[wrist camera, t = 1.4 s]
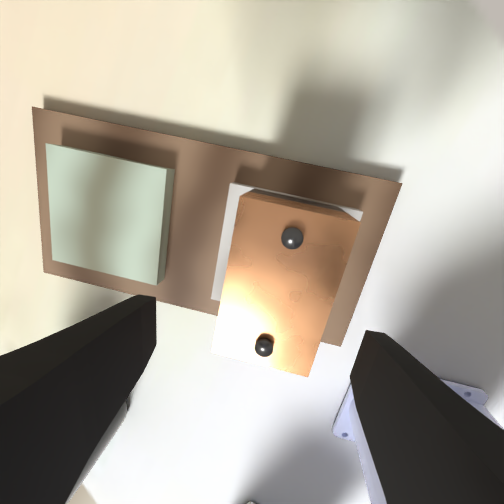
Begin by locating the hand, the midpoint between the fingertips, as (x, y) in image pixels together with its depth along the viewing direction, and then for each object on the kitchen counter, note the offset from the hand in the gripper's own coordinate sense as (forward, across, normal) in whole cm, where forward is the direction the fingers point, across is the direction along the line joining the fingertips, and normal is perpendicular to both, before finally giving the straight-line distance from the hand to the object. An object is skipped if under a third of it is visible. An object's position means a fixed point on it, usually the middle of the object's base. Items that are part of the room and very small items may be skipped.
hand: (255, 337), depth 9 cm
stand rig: (+10, +5, 0) cm, 11 cm away
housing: (+8, -1, 0) cm, 8 cm away
